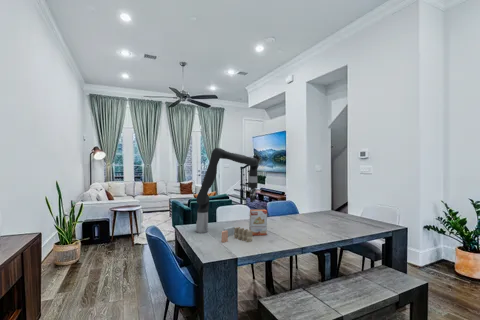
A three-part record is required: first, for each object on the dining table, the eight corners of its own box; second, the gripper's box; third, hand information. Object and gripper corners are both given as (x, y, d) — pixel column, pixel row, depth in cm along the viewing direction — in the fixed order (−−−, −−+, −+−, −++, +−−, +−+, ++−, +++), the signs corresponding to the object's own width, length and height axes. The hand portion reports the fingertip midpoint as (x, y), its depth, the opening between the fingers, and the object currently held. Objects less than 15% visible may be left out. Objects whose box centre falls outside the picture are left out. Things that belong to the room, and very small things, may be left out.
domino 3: (238, 239, 197) (238, 229, 197) (242, 238, 201) (242, 228, 201) (239, 239, 196) (239, 229, 196) (244, 238, 200) (244, 228, 200)
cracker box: (250, 236, 206) (251, 210, 207) (249, 234, 212) (249, 209, 213) (267, 235, 209) (267, 210, 209) (264, 233, 215) (265, 209, 215)
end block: (223, 235, 206) (223, 228, 206) (232, 233, 213) (232, 226, 213) (225, 236, 204) (225, 229, 204) (234, 234, 211) (234, 227, 211)
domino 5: (246, 241, 191) (246, 231, 191) (250, 240, 195) (250, 230, 195) (247, 242, 190) (248, 231, 190) (252, 241, 193) (252, 230, 194)
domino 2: (234, 238, 201) (234, 228, 201) (238, 236, 204) (238, 227, 204) (235, 238, 199) (235, 228, 200) (240, 237, 203) (240, 227, 203)
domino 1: (221, 242, 190) (221, 231, 190) (226, 240, 193) (226, 230, 194) (222, 242, 189) (223, 232, 189) (227, 241, 192) (227, 230, 192)
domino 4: (242, 240, 194) (242, 230, 194) (246, 239, 198) (246, 229, 198) (243, 241, 193) (243, 230, 193) (248, 239, 197) (248, 229, 197)
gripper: (250, 181, 214) (249, 200, 214) (246, 182, 200) (246, 202, 200) (258, 181, 212) (258, 200, 212) (255, 182, 198) (255, 203, 198)
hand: (252, 201), depth 206 cm, fingers open, 8 cm apart
